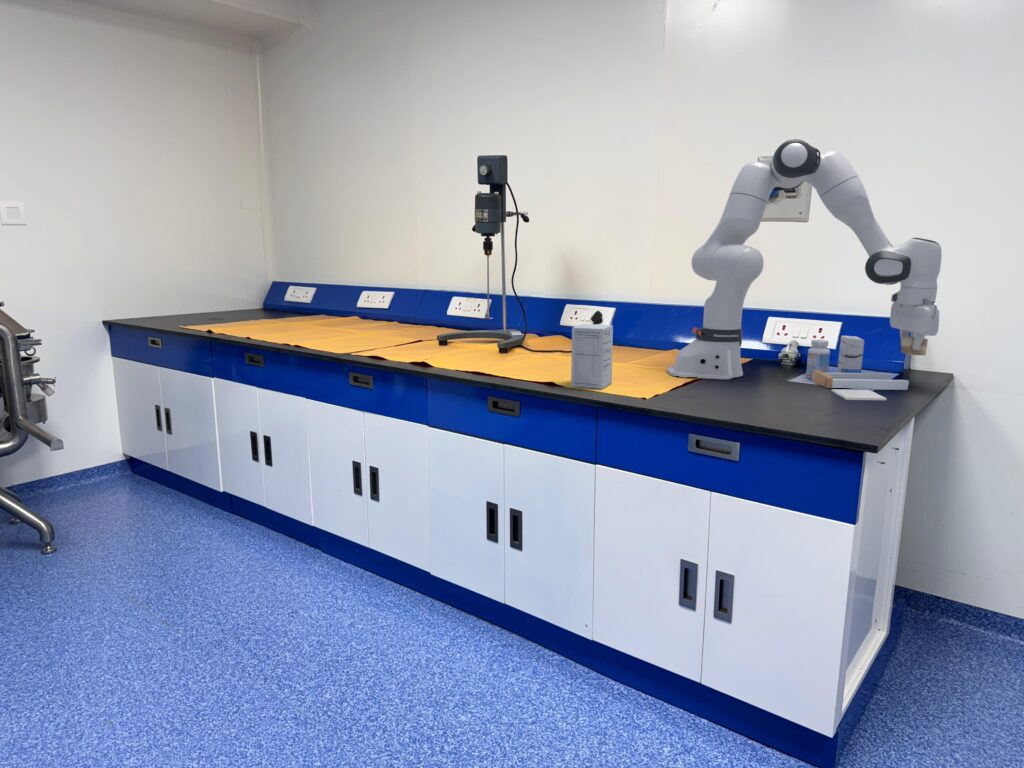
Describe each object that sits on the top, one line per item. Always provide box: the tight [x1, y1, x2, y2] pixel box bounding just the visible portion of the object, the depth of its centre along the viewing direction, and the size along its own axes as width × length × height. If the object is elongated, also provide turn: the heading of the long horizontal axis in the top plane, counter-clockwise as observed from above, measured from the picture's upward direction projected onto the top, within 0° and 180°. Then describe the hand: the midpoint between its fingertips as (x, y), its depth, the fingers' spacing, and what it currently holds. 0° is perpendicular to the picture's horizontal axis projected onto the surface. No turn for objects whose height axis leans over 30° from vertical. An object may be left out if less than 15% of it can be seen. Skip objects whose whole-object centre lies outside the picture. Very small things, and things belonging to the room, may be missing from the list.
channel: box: [811, 370, 910, 391], centre depth 199 cm, size 22×11×3 cm, turn 87°
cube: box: [900, 336, 929, 356], centre depth 195 cm, size 4×4×4 cm
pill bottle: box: [805, 339, 831, 379], centre depth 208 cm, size 6×6×11 cm
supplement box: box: [570, 323, 614, 390], centre depth 196 cm, size 10×9×17 cm
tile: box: [831, 389, 887, 401], centre depth 186 cm, size 10×10×1 cm
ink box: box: [836, 335, 865, 373], centre depth 211 cm, size 8×5×12 cm, turn 168°
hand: (909, 347), depth 195 cm, fingers closed on cube, 4 cm apart
